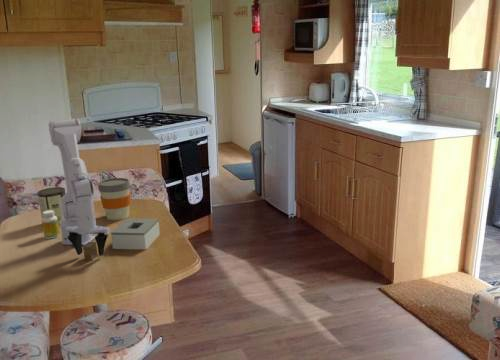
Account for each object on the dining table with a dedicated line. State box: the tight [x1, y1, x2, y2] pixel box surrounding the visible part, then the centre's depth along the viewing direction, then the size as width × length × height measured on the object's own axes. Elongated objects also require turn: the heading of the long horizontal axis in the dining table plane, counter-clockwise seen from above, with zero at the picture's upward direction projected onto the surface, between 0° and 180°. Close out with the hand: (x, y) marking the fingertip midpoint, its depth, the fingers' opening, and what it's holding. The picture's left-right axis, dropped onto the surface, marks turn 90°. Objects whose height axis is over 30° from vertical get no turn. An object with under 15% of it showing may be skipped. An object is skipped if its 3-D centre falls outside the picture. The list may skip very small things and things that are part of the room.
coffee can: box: [36, 186, 66, 228], centre depth 193 cm, size 10×10×14 cm
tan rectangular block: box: [82, 241, 99, 262], centre depth 160 cm, size 2×4×5 cm, turn 171°
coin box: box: [110, 218, 161, 250], centre depth 172 cm, size 12×14×6 cm
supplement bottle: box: [41, 210, 61, 240], centre depth 180 cm, size 5×5×10 cm
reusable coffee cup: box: [98, 177, 131, 221], centre depth 199 cm, size 13×13×15 cm
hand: (90, 254), depth 160 cm, fingers open, 7 cm apart
